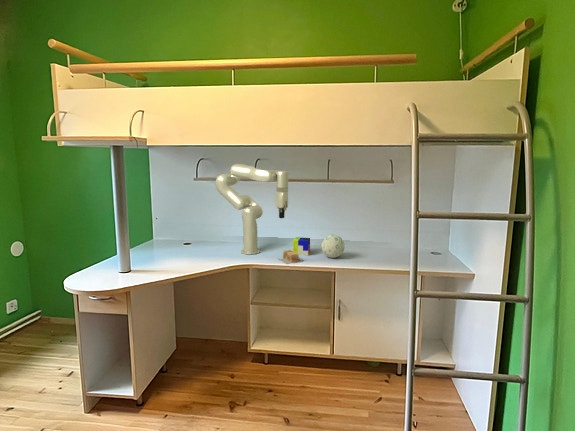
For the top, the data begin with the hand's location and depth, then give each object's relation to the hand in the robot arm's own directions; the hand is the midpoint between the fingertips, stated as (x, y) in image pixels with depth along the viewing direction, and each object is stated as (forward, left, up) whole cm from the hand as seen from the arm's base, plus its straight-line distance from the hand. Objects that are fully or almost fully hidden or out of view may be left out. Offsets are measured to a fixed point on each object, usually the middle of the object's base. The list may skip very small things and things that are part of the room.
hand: (281, 218), depth 257 cm
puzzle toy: (0, +15, -26) cm, 30 cm away
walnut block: (+7, 0, -23) cm, 24 cm away
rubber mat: (+13, 0, -26) cm, 28 cm away
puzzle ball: (+18, +28, -26) cm, 42 cm away
